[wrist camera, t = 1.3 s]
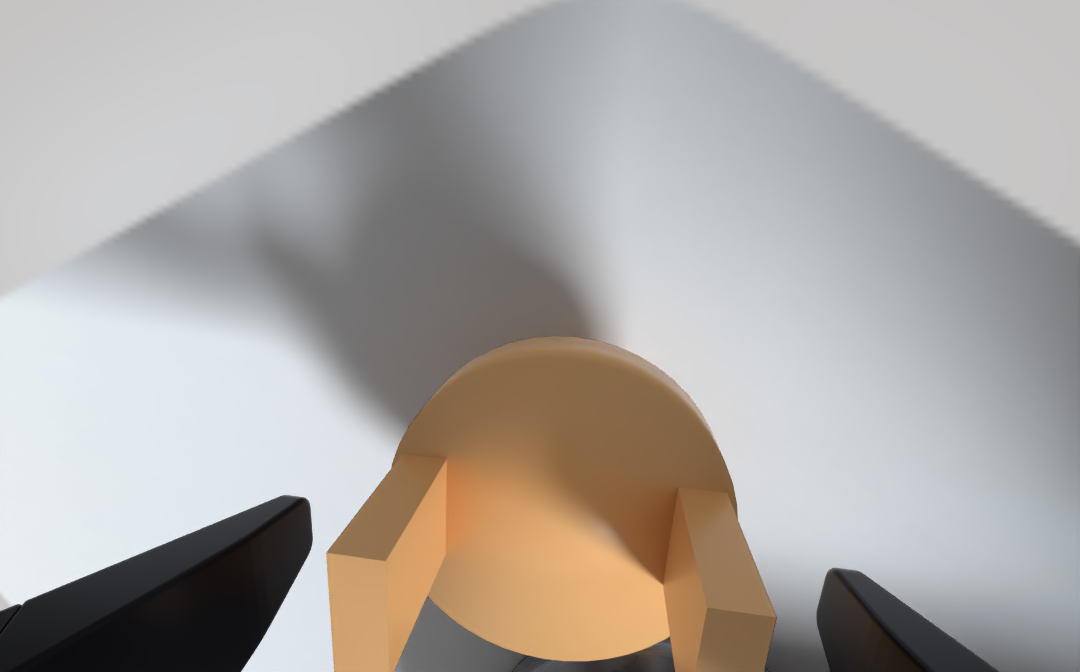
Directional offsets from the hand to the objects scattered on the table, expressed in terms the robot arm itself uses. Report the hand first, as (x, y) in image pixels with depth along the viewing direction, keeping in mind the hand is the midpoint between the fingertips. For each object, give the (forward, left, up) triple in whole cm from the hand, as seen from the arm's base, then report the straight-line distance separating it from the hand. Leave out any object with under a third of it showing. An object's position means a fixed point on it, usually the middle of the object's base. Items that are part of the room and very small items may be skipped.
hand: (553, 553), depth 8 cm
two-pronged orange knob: (0, 0, -4) cm, 4 cm away
